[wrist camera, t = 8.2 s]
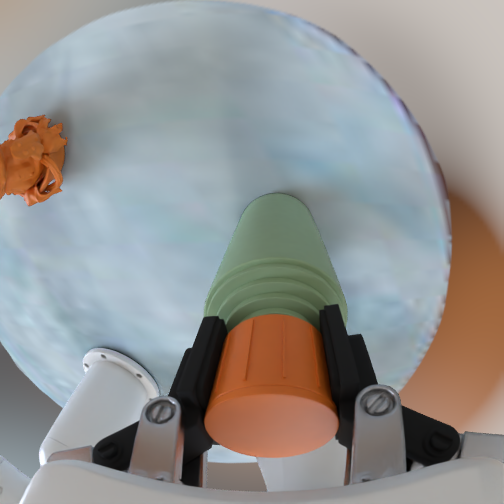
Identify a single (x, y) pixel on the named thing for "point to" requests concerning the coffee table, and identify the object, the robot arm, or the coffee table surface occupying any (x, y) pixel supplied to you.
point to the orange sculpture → (32, 160)
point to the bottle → (275, 266)
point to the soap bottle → (306, 469)
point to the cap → (272, 389)
